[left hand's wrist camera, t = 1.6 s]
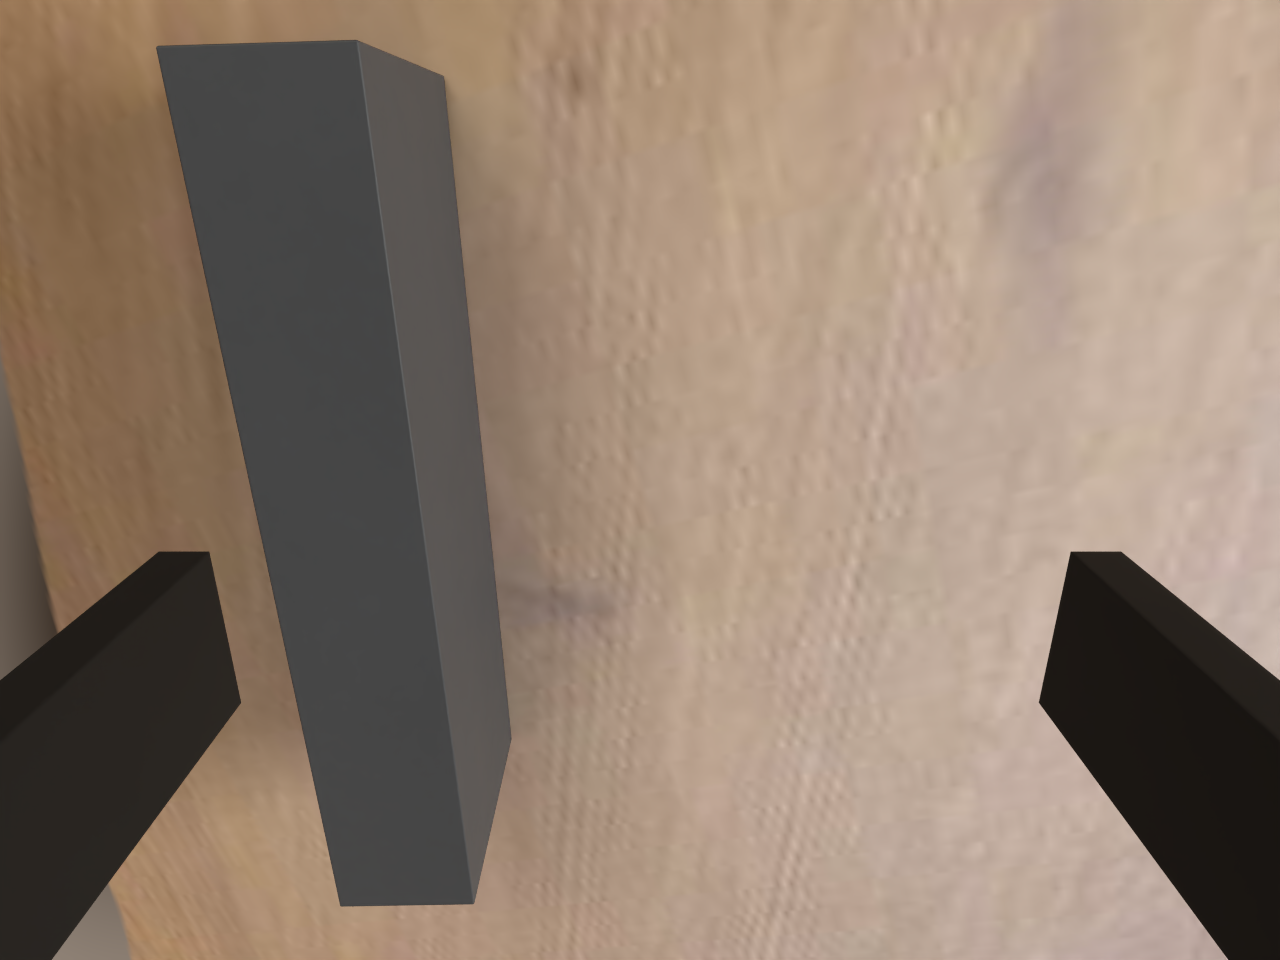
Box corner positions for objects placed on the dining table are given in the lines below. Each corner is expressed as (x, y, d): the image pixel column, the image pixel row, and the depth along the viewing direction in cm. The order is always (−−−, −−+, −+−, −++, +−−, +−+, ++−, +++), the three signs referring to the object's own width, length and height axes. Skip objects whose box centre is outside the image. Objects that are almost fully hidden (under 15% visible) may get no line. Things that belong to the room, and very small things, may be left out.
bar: (301, 79, 26) (154, 45, 18) (444, 75, 26) (358, 39, 18) (406, 741, 36) (340, 907, 28) (511, 739, 36) (474, 904, 28)
